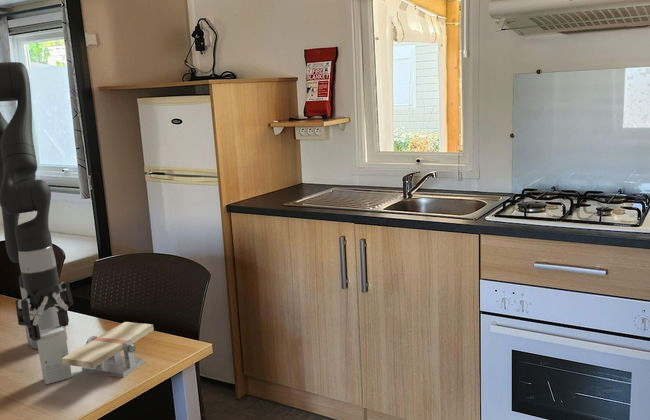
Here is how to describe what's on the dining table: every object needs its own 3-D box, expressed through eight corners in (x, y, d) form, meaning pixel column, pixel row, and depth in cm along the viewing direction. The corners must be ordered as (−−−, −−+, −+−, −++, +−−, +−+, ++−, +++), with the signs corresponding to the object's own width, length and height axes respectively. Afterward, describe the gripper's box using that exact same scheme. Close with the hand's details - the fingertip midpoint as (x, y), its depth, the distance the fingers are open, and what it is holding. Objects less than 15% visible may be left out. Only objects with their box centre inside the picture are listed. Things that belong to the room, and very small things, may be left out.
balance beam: (62, 364, 142) (61, 357, 142) (125, 327, 162) (124, 321, 162) (93, 368, 139) (92, 361, 138) (153, 330, 159) (153, 324, 158)
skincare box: (46, 385, 144) (37, 337, 142) (42, 378, 148) (33, 331, 146) (73, 377, 148) (65, 329, 145) (69, 370, 151) (61, 324, 149)
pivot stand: (80, 371, 150) (75, 344, 149) (103, 357, 158) (99, 330, 156) (125, 377, 145) (121, 349, 144) (146, 362, 153) (142, 335, 151)
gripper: (25, 276, 134) (38, 346, 138) (73, 258, 147) (84, 322, 150) (0, 275, 137) (14, 343, 140) (49, 257, 150) (61, 320, 153)
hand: (50, 332), depth 145 cm, fingers open, 8 cm apart
